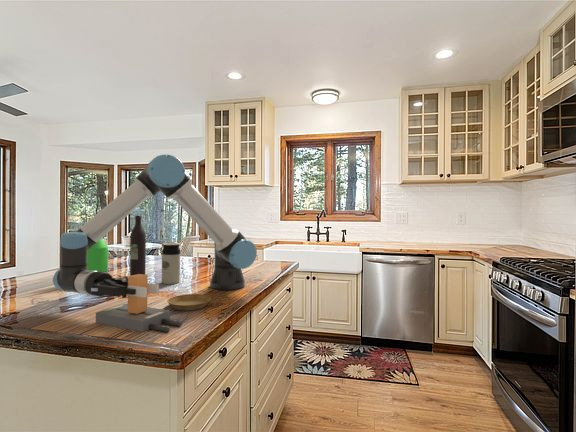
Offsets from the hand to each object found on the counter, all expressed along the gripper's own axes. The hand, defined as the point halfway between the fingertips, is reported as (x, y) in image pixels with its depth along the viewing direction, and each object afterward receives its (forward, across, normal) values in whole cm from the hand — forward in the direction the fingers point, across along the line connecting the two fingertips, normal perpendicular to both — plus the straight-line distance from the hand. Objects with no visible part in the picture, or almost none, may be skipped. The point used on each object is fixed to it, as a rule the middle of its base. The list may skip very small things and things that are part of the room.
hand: (151, 290), depth 100 cm
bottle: (-65, -34, -10) cm, 73 cm away
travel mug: (-35, -48, -10) cm, 60 cm away
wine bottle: (-59, -52, -10) cm, 79 cm away
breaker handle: (-5, 0, -7) cm, 9 cm away
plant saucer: (-3, -21, -10) cm, 23 cm away
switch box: (-4, 0, -10) cm, 11 cm away
